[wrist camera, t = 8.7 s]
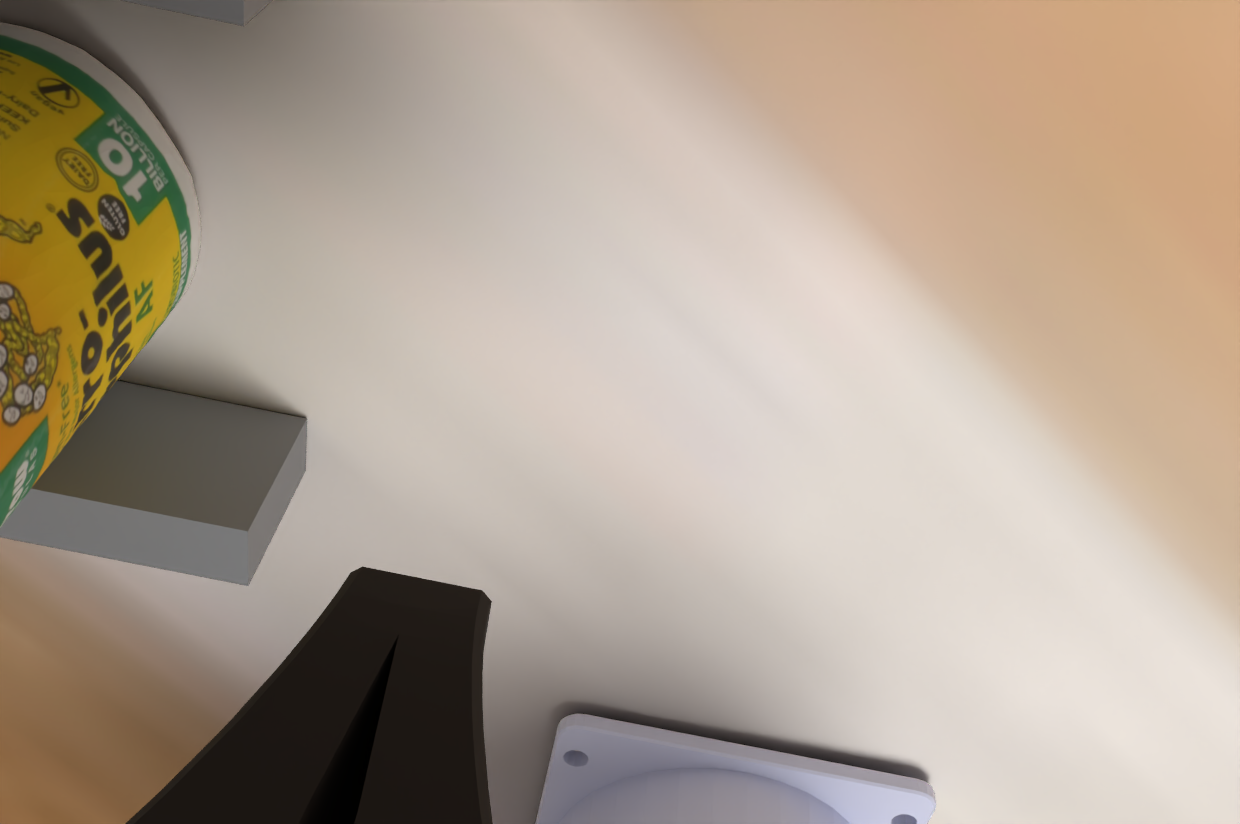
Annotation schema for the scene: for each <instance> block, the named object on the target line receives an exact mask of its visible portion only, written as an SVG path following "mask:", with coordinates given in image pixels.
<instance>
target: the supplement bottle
mask: <svg viewBox="0 0 1240 824" xmlns="http://www.w3.org/2000/svg"><path fill="white" fill-rule="evenodd" d="M200 247H201V220H200V212H199V206H198V199H197V196H196V192H195V188H194V185H193V180H192V176H191V174H190V172H189V170H188V168H187V166H186V164H185V163H184V161H183V159H182V157H181V155H180V153H179V152H178V150H177V148H176V147H175V145H174V144H173V142H172V141H171V139H170V138H169V136H168V135H167V133H166V132H165V130H164V128H163V127H162V125H161V124H160V122H159V121H158V119H157V118H156V117H155V115H154V114H153V113H152V111H151V110H150V109H149V108H148V106H147V105H146V104H145V102H144V101H143V100H142V98H141V97H140V96H139V95H138V94H137V93H136V92H135V91H134V90H133V89H132V88H131V87H130V86H129V85H128V84H127V83H125V82H124V81H123V80H122V79H121V78H120V77H119V76H117V75H116V74H115V73H114V72H112V71H111V70H110V69H108V68H107V67H106V66H104V65H103V64H102V63H100V62H99V61H98V60H96V59H95V58H94V57H92V56H91V55H90V54H88V53H87V52H85V51H84V50H83V49H80V48H78V47H76V46H74V45H71V44H69V43H67V42H65V41H63V40H60V39H58V38H55V37H53V36H51V35H48V34H46V33H43V32H40V31H36V30H33V29H30V28H26V27H22V26H17V25H12V24H7V23H2V22H0V528H1V526H2V525H3V524H4V523H5V521H6V520H7V519H8V518H9V517H10V516H11V514H12V513H13V511H14V510H15V509H16V507H17V506H18V505H19V503H20V502H21V501H22V499H23V498H24V497H25V496H26V495H27V493H28V492H29V491H30V489H31V488H32V487H33V485H34V484H35V483H36V482H37V480H38V479H39V478H40V476H41V475H42V474H43V473H44V471H45V470H46V469H47V468H48V466H49V465H50V464H51V463H52V462H53V460H54V459H55V458H56V457H57V456H58V454H59V453H60V452H61V450H62V449H63V447H64V446H65V445H66V444H67V442H68V441H69V440H70V439H71V437H72V436H73V434H74V433H75V432H76V430H77V429H78V428H79V427H80V426H81V424H82V423H83V422H84V421H85V420H86V419H87V417H88V416H89V415H90V414H91V412H92V411H93V410H94V409H95V407H96V405H97V404H98V402H99V401H100V400H101V399H102V398H103V396H104V395H105V394H106V393H107V392H108V391H109V390H110V388H111V387H112V386H113V385H114V383H115V382H116V381H117V379H118V378H119V377H120V376H121V374H122V373H123V372H124V371H125V369H126V368H127V367H128V366H129V364H130V363H131V362H132V361H133V359H134V358H135V357H136V356H137V354H138V353H139V352H140V351H141V350H142V348H143V347H144V346H145V345H146V344H147V343H148V342H149V340H150V339H151V338H152V336H153V335H154V333H155V332H156V330H157V329H158V328H159V327H160V326H161V324H162V323H163V322H164V321H165V319H166V318H167V316H168V315H169V313H170V312H171V311H172V310H173V308H174V307H175V306H176V305H177V303H178V302H179V301H180V299H181V298H182V297H183V295H184V294H185V292H186V290H187V289H188V287H189V285H190V283H191V281H192V278H193V276H194V273H195V269H196V265H197V261H198V257H199V252H200Z"/></svg>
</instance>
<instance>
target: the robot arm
mask: <svg viewBox="0 0 1240 824" xmlns="http://www.w3.org/2000/svg"><path fill="white" fill-rule="evenodd" d="M491 602H492V601H491V600H490V599H489V598H488V597H487V595H486V594H485V593H484V592H483V591H482V590H477V589H472V588H467V587H462V586H457V585H452V584H447V583H442V582H437V581H432V580H427V579H422V578H417V577H412V576H406V575H401V574H396V573H391V572H386V571H381V570H376V569H371V568H366V567H361V568H359V569H357V570H355V571H353V572H351V573H350V575H349V576H348V578H347V579H346V581H345V582H344V584H343V585H342V587H341V588H340V589H339V591H338V592H337V594H336V595H335V597H334V598H333V599H332V601H331V602H330V603H329V605H328V606H327V607H326V609H325V610H324V611H323V613H322V614H321V615H320V617H319V618H318V619H317V621H316V622H315V623H314V624H313V626H312V627H311V628H310V630H309V631H308V632H307V633H306V635H305V636H304V637H303V638H302V639H301V641H300V642H299V643H298V644H297V646H296V647H295V648H294V649H293V650H292V652H291V653H290V654H289V655H288V656H287V658H286V659H285V660H284V661H283V662H282V664H281V665H280V666H279V667H278V668H277V669H276V671H275V672H274V673H273V674H272V675H271V676H270V677H269V678H268V679H267V681H266V682H265V683H264V684H263V685H262V686H261V687H260V688H259V689H258V691H257V692H256V693H255V694H254V695H253V696H252V697H251V698H250V700H249V701H248V702H247V703H246V704H245V705H244V706H243V707H242V708H241V710H240V711H239V712H238V713H237V714H236V715H235V716H234V717H233V718H232V720H231V721H230V722H229V723H228V724H227V725H226V726H225V727H224V728H223V729H222V730H221V731H220V732H219V733H218V734H217V735H216V736H215V737H214V738H213V739H212V740H211V741H210V742H209V743H208V744H207V745H206V746H205V747H204V748H203V749H202V750H201V751H200V752H199V753H198V754H197V755H196V756H195V757H194V758H193V759H192V760H191V761H190V762H189V763H188V764H187V765H186V766H185V767H184V768H183V769H182V770H181V771H180V772H179V773H178V774H177V775H176V776H175V777H174V778H173V779H172V780H171V781H170V782H169V783H168V784H167V785H166V786H165V787H164V788H163V789H162V790H161V791H160V792H159V793H158V794H157V795H156V796H155V797H154V798H153V799H152V800H150V801H149V802H148V803H147V804H146V805H145V806H144V807H143V808H142V809H141V810H140V811H139V812H138V813H136V814H135V815H134V816H133V817H132V818H131V819H130V820H129V821H128V822H127V823H126V824H493V823H492V816H491V808H490V799H489V791H488V780H487V768H486V756H485V744H484V732H483V710H482V669H483V650H484V644H485V638H486V632H487V626H488V620H489V614H490V608H491ZM575 750H578V751H575ZM935 808H936V800H935V793H934V790H933V788H932V786H931V785H929V784H928V783H927V782H925V781H922V780H919V779H916V778H911V777H906V776H901V775H896V774H891V773H885V772H880V771H875V770H870V769H865V768H860V767H855V766H850V765H844V764H839V763H834V762H829V761H824V760H819V759H814V758H808V757H803V756H798V755H793V754H788V753H783V752H778V751H773V750H767V749H762V748H757V747H752V746H747V745H742V744H737V743H731V742H726V741H721V740H716V739H711V738H706V737H701V736H696V735H690V734H685V733H680V732H675V731H670V730H665V729H660V728H654V727H649V726H644V725H639V724H634V723H629V722H624V721H619V720H613V719H608V718H603V717H598V716H593V715H588V714H572V715H568V716H566V717H565V718H563V719H561V721H560V723H559V724H558V727H557V732H556V736H555V740H554V745H553V749H552V753H551V758H550V762H549V766H548V771H547V775H546V779H545V784H544V788H543V792H542V797H541V801H540V805H539V810H538V814H537V818H536V823H535V824H928V822H929V820H930V818H931V816H932V815H933V813H934V811H935Z"/></svg>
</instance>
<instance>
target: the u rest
mask: <svg viewBox="0 0 1240 824" xmlns="http://www.w3.org/2000/svg"><path fill="white" fill-rule="evenodd" d="M121 1H126V2H131V3H136V4H140V5H145V6H150V7H155V8H159V9H164V10H169V11H174V12H178V13H183V14H188V15H193V16H197V17H202V18H207V19H212V20H217V21H221V22H226V23H231V24H236V25H240V26H245V25H246V24H247V23H248V22H249V21H250V20H251V19H252V18H253V17H255V16H256V15H257V14H258V13H259V12H260V11H261V10H262V9H263V8H265V7H266V6H267V5H268V4H269V3H270V2H271V1H272V0H121ZM306 437H307V419H306V418H301V417H296V416H291V415H286V414H281V413H276V412H271V411H266V410H261V409H256V408H251V407H246V406H241V405H236V404H231V403H226V402H221V401H216V400H211V399H206V398H201V397H196V396H191V395H186V394H181V393H176V392H171V391H166V390H162V389H157V388H152V387H147V386H142V385H137V384H132V383H127V382H122V381H116V382H115V383H114V385H113V386H112V387H111V388H110V390H109V391H108V392H107V393H106V394H105V395H104V396H103V398H102V399H101V400H100V401H99V402H98V404H97V405H96V407H95V409H94V410H93V411H92V412H91V414H90V415H89V416H88V417H87V419H86V420H85V421H84V422H83V423H82V424H81V426H80V427H79V428H78V429H77V430H76V432H75V433H74V434H73V436H72V437H71V439H70V440H69V441H68V442H67V444H66V445H65V446H64V447H63V449H62V450H61V452H60V453H59V454H58V456H57V457H56V458H55V459H54V460H53V462H52V463H51V464H50V465H49V466H48V468H47V469H46V470H45V471H44V473H43V474H42V475H41V476H40V478H39V479H38V480H37V482H36V483H35V484H34V485H33V487H32V488H31V489H30V491H29V492H28V493H27V495H26V496H25V497H24V498H23V499H22V501H21V502H20V503H19V505H18V506H17V507H16V509H15V510H14V511H13V513H12V514H11V516H10V517H9V518H8V519H7V520H6V521H5V523H4V524H3V525H2V526H1V528H0V537H1V538H7V539H12V540H17V541H22V542H27V543H32V544H37V545H42V546H47V547H52V548H58V549H63V550H68V551H73V552H78V553H83V554H88V555H93V556H98V557H103V558H108V559H114V560H119V561H124V562H129V563H134V564H139V565H144V566H149V567H154V568H159V569H164V570H170V571H175V572H180V573H185V574H190V575H195V576H200V577H205V578H210V579H215V580H221V581H226V582H231V583H236V584H241V585H246V586H249V584H250V581H251V579H252V577H253V575H254V573H255V571H256V569H257V567H258V565H259V563H260V561H261V559H262V557H263V555H264V553H265V551H266V549H267V547H268V545H269V543H270V541H271V539H272V537H273V535H274V533H275V531H276V529H277V527H278V525H279V523H280V521H281V519H282V517H283V515H284V513H285V511H286V509H287V507H288V505H289V503H290V501H291V499H292V497H293V495H294V493H295V491H296V489H297V487H298V485H299V483H300V481H301V479H302V477H303V475H304V473H305V471H306Z"/></svg>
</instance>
